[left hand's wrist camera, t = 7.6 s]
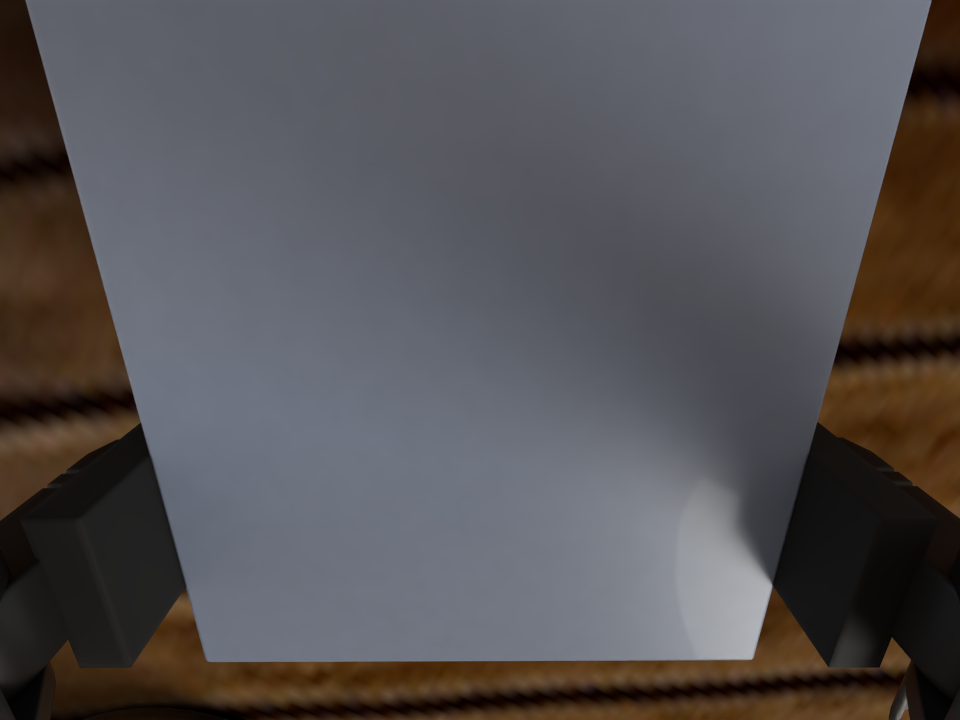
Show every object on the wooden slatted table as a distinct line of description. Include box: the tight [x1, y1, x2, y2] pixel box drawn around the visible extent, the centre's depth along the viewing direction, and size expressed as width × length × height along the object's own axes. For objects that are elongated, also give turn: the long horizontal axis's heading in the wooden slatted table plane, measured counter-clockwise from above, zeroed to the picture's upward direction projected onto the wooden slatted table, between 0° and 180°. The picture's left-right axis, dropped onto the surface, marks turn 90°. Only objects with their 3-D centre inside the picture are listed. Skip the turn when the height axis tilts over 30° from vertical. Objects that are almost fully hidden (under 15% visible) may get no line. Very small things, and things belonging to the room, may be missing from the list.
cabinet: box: [26, 0, 931, 662], centre depth 11 cm, size 19×10×10 cm, turn 0°
